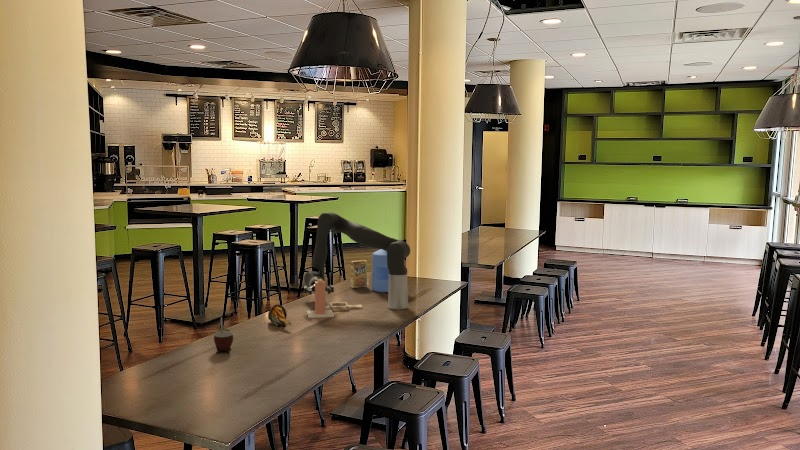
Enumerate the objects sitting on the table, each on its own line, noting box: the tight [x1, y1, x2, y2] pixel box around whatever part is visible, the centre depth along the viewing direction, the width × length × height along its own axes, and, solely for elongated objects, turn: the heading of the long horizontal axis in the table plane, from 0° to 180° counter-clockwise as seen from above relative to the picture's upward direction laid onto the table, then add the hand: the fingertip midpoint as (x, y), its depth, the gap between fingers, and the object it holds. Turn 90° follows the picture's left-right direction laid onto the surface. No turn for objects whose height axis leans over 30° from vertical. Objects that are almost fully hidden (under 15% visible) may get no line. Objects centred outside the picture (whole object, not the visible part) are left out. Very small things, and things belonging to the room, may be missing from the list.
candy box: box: [349, 259, 368, 289], centre depth 360 cm, size 9×4×15 cm, turn 118°
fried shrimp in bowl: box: [267, 303, 293, 327], centre depth 278 cm, size 9×11×18 cm
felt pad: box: [306, 309, 335, 319], centre depth 298 cm, size 12×12×1 cm
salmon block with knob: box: [314, 279, 326, 314], centre depth 298 cm, size 4×4×16 cm
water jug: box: [371, 249, 389, 293], centre depth 353 cm, size 16×16×28 cm
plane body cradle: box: [325, 301, 364, 312], centre depth 310 cm, size 23×9×2 cm, turn 102°
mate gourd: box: [213, 316, 234, 354], centre depth 239 cm, size 8×8×15 cm
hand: (320, 292), depth 298 cm, fingers open, 8 cm apart
